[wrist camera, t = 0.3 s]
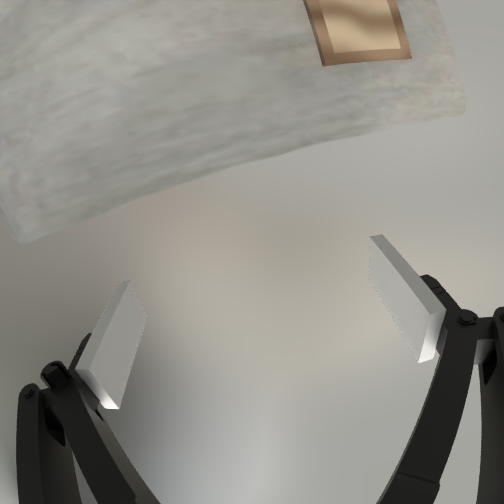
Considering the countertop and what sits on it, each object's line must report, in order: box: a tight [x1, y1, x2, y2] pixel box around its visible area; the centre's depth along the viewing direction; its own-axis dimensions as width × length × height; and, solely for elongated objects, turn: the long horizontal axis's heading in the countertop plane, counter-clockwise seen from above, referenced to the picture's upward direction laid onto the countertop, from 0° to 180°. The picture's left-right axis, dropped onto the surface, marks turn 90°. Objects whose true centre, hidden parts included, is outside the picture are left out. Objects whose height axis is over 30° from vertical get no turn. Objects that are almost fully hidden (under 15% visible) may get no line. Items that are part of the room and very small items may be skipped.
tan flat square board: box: [303, 0, 412, 66], centre depth 30 cm, size 13×13×2 cm
